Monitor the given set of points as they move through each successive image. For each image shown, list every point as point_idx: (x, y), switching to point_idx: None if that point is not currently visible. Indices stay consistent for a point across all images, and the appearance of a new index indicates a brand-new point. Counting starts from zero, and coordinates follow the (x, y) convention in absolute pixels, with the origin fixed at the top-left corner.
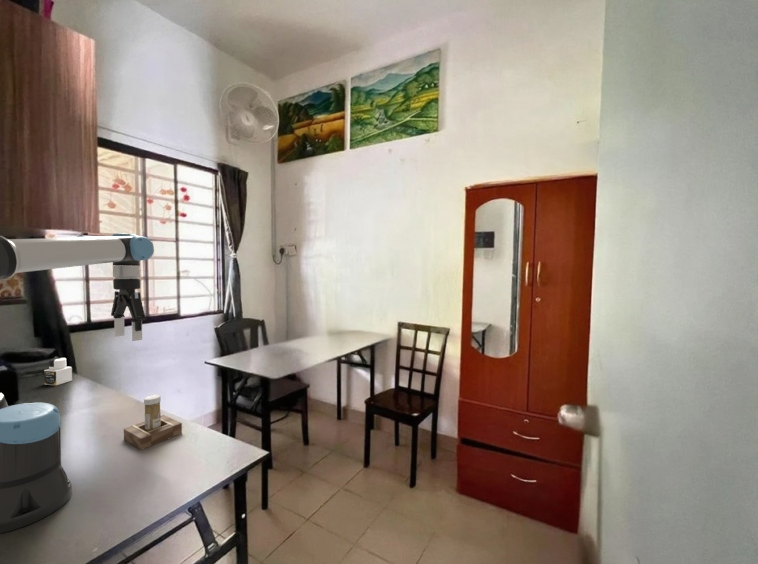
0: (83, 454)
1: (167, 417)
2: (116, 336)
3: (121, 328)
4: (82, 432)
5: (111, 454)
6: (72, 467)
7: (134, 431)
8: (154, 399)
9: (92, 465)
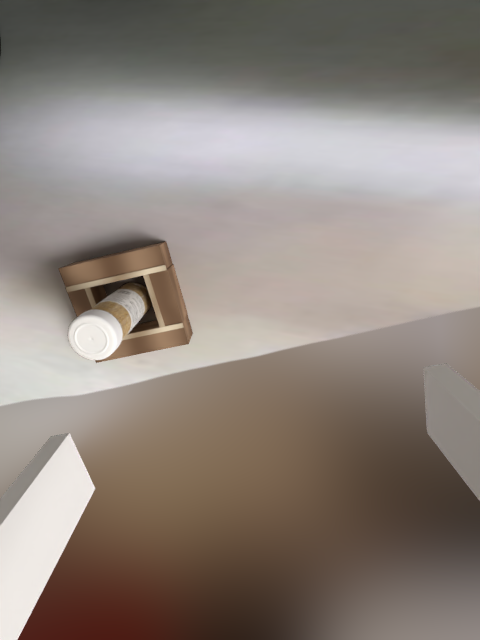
0: (139, 149)
1: (160, 346)
2: (425, 374)
3: (472, 467)
4: (301, 158)
5: (92, 204)
6: (77, 121)
7: (118, 264)
8: (69, 339)
9: (58, 161)
